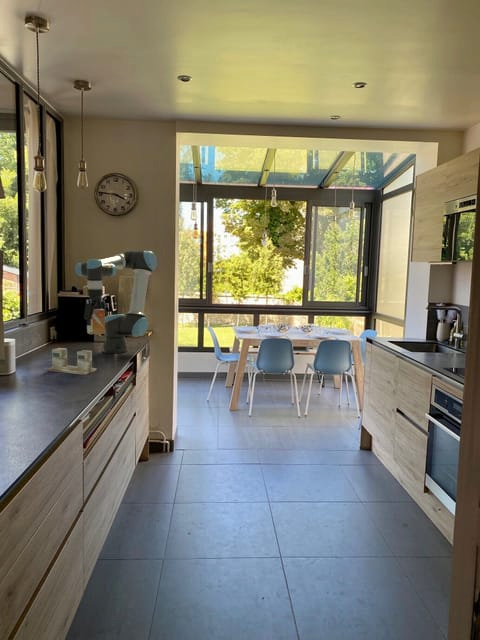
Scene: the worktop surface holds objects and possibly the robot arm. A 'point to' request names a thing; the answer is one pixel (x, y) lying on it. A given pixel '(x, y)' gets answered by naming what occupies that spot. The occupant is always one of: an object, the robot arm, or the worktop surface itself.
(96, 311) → the small box
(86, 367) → the cream u-shaped bracket
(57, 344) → the worktop surface
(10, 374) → the worktop surface
